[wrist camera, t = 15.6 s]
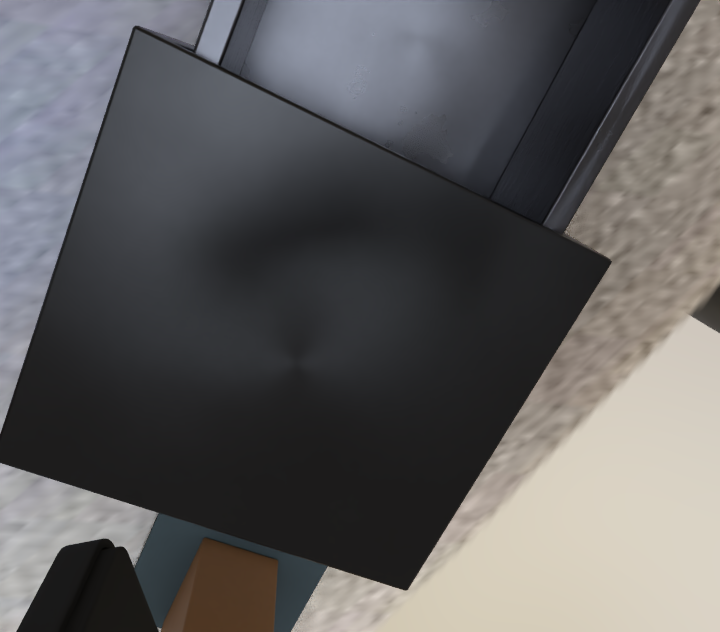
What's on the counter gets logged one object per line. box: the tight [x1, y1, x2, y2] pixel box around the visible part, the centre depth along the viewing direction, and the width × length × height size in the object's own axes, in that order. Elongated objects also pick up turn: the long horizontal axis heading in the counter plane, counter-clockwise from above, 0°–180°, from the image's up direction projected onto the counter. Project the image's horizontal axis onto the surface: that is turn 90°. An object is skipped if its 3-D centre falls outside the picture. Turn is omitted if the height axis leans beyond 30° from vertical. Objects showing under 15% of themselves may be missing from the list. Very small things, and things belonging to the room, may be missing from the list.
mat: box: [134, 513, 327, 632], centre depth 32 cm, size 9×7×1 cm
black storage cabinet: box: [0, 26, 612, 590], centre depth 22 cm, size 14×15×9 cm
